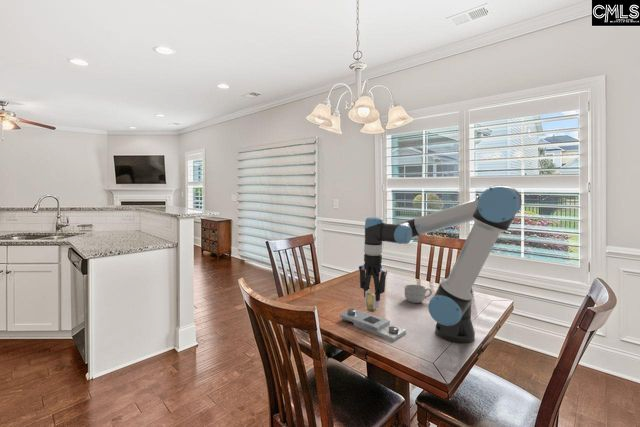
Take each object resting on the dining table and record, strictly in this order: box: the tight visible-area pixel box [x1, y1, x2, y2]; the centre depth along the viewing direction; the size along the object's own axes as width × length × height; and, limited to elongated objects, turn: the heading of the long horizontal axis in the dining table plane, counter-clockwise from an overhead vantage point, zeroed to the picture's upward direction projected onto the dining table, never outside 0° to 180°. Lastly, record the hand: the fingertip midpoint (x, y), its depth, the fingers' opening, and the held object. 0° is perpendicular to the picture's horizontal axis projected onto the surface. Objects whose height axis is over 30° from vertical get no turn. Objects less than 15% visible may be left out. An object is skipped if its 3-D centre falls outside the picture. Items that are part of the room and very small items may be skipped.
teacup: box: [403, 284, 433, 304], centre depth 172 cm, size 14×11×8 cm
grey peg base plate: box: [339, 307, 407, 342], centre depth 142 cm, size 28×10×4 cm, turn 46°
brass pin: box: [366, 292, 377, 313], centre depth 141 cm, size 4×4×7 cm
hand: (371, 306), depth 141 cm, fingers closed on brass pin, 4 cm apart
